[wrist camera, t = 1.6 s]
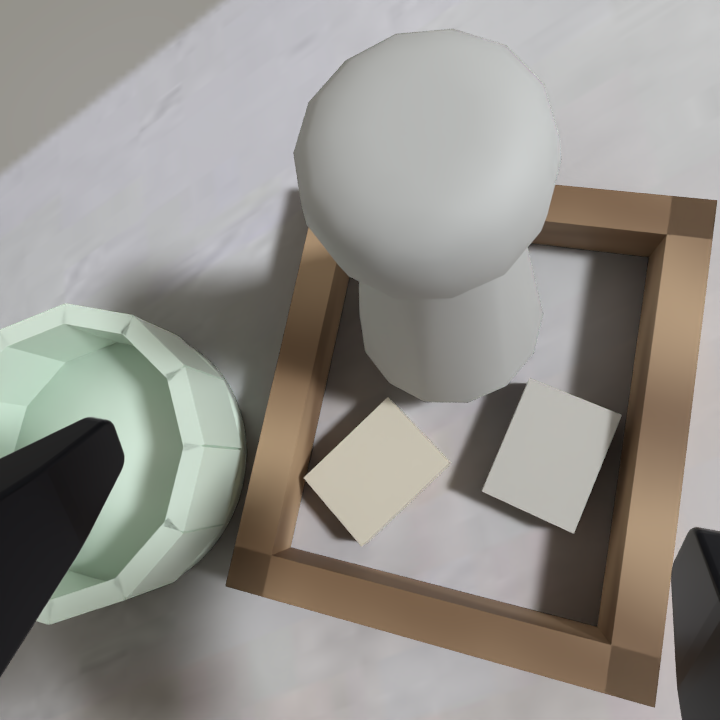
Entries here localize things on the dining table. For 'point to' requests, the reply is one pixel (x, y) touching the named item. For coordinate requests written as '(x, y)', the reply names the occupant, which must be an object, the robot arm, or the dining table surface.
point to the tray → (634, 487)
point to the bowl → (128, 443)
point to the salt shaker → (434, 205)
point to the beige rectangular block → (376, 471)
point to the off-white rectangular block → (551, 454)
